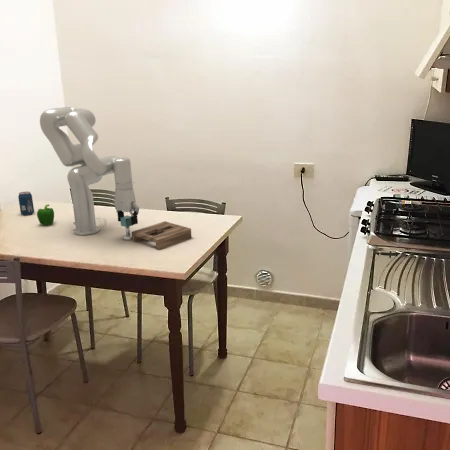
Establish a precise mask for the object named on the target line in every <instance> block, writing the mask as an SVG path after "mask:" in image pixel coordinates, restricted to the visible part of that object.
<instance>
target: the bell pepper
mask: <svg viewBox="0 0 450 450" xmlns="http://www.w3.org/2000/svg"><path fill="white" fill-rule="evenodd" d="M36 216H37V220H38V222H39V224H40V225H41V226H50V225H53V223H54V221H55V211H54V208H52V207H50V204H49V203H48V204H45V205H44V208H43V209H42V208H39V209H38V210H37V212H36Z"/></svg>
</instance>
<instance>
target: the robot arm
mask: <svg viewBox="0 0 450 450" xmlns="http://www.w3.org/2000/svg"><path fill="white" fill-rule="evenodd" d="M95 124H96V116H95V114H94V113H93V112H92V111H91V110H89V109H87V108H79V107H74V106H65V107H55V108H49V109H46V110H44V111H43V112H42V113H41V114H40V116H39V126H40V129H41V131H42V133H43V135H44V136H45V137H46V140H48V141H49V143H50V145H51V146H52V148H53V149H54V152H55V154H56V155H57V157H58V158H59V161H60V162H61V163H62V165H63V166H64V167H67V168H69V167H73V168H71V169H70V170H69V171H68V173H67V176H66V178H67V182H68V185H69V188H70V191H71V194H70V195H71V200H72V208H73V214H74V215H73V216H74V222H73V225H74V226H75V228H73V230H72V233H73V234H74V235H76V236H89V235H90V236H91V235H93V234H94V235H95V234H97V233H98V232H99V231H100V230H101V229H100V226H98V225H97V222H96V213H95V204H94V195H93V191H92V190H91V189H90V187H89V186H90V185H93V184H96V183H99V182H101V180H102V179H103V176H107V175H111V174H114V175H113V176H114V177H113V178H114V183H115V184H114V185H115V189H114V201H113V205H114V208H115V210H116V211H115V212H116V213H117V221H118V222H120V223H121V219H120V217H123V216H125V213H130V214H129V215H130V216H131V224H132V226H134V225H138V224H139V223H138V222H139V221H138V219H139V218H138V215H139V213H140V206H139V205H138V204H137V202H136V195H135V191H134V186H133V185H134V183H133V176H132V175H133V174H132V164H131V159H130V158H129V157H125V156H123V157H120V156H115V155H110V156H105V157H101V158H99V157H98V155H97V154H96V153H95V151H94V148H93V146H94V145H95V143H96V142H98V139H99V134H98V132H96V130H95V129H94V128H93V127H94V126H95ZM60 127H68V129H69V130H70V131H71V133H72V134H73V135H74V137H75V138H76V139H77V141H78V142H79V143H76V144H74V143H73V142H72V140H71V139H70V137H69V136H68V134H67V133H66V132H65V131H63V130H62V129H61V128H60ZM79 165H80V166H79Z"/></svg>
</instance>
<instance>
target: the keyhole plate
mask: <svg viewBox="0 0 450 450" xmlns="http://www.w3.org/2000/svg"><path fill="white" fill-rule="evenodd" d="M130 234H132V240H131V242H132V243H133V242H138V241H141V240H147V241H148V242H149V241H150V242H153V243H155V250H157V251H160V250H162V249H165V248H168V247H170V246H172V245H175V244H179V243H181V242H184V241H187V240H189V239H191V238H192V228H190V227H187V226H183V225H179V224H176V223H173V222H169V221H162V222H158V223H154V224H152V225H148V226H146V227H142V228H139V229H136V230H132V231H130Z"/></svg>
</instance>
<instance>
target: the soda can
mask: <svg viewBox="0 0 450 450" xmlns="http://www.w3.org/2000/svg"><path fill="white" fill-rule="evenodd" d="M17 198H18V205H19V209H20V214H21V215H22V216H26V217H27V216H28V217H29V216H33V214H34V213H35V207H34V202H33V195H32V193H31V191H21V192H19V193H18V197H17Z"/></svg>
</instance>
